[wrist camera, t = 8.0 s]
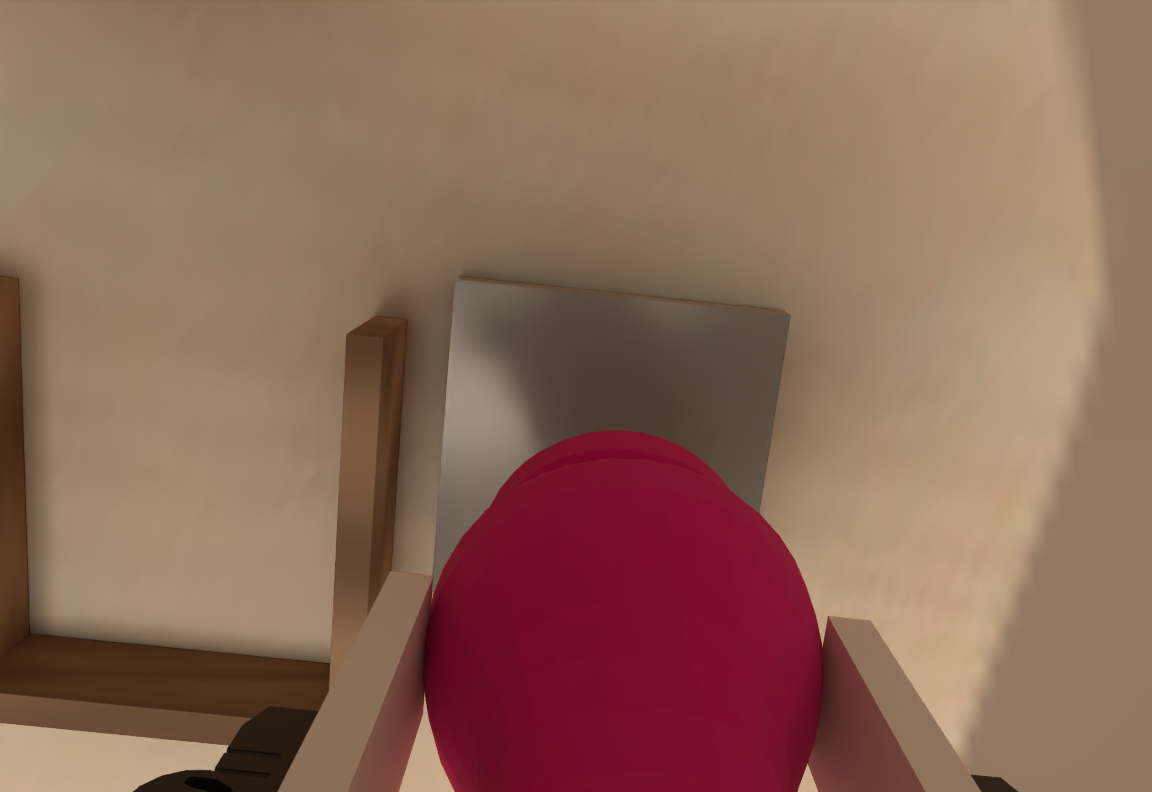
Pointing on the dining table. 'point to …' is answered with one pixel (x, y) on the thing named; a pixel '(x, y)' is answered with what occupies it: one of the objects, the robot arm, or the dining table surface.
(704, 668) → the pepper mill
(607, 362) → the coaster
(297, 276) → the dining table surface
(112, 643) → the u-shaped frame
